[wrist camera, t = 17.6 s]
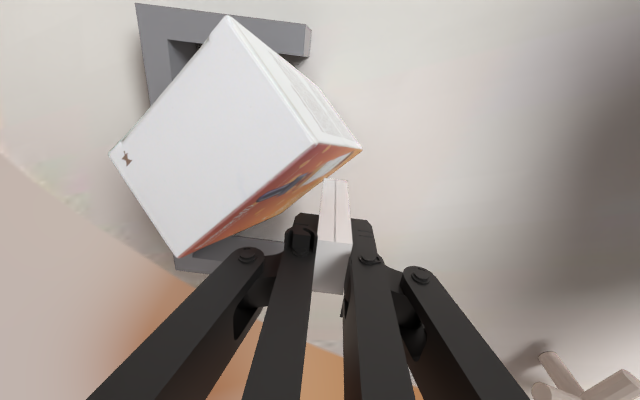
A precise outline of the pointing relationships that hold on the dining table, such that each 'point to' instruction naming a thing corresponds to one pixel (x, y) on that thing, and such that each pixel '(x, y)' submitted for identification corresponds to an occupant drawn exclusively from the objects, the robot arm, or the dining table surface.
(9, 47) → the dining table surface
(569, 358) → the dining table surface
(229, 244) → the square bracket
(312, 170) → the small box
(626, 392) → the pipe connector
